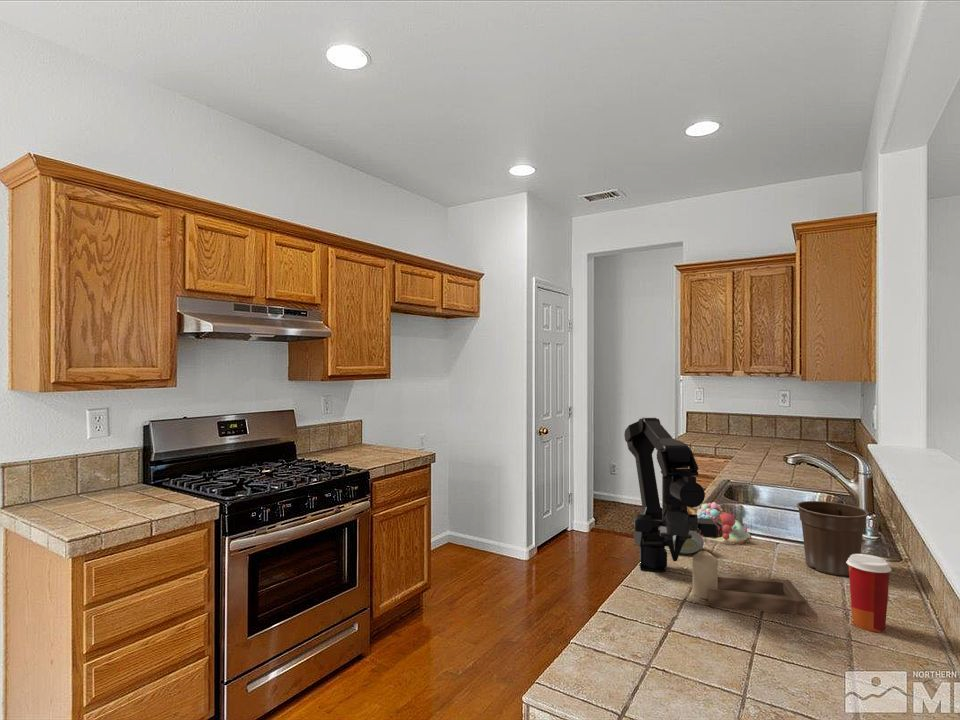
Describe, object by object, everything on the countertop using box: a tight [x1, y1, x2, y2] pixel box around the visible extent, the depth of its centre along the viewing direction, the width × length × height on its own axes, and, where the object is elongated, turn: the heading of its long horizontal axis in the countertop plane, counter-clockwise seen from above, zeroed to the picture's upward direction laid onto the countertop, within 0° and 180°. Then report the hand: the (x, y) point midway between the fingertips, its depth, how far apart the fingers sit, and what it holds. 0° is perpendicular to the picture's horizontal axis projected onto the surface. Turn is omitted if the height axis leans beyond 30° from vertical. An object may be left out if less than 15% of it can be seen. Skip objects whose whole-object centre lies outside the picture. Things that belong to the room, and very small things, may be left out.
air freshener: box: [673, 531, 705, 555], centre depth 160 cm, size 11×8×10 cm
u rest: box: [707, 573, 808, 616], centre depth 127 cm, size 20×12×3 cm, turn 76°
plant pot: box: [796, 500, 869, 576], centre depth 146 cm, size 16×16×16 cm
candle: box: [692, 550, 719, 600], centre depth 130 cm, size 6×6×10 cm
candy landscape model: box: [687, 501, 751, 545], centre depth 179 cm, size 25×24×9 cm
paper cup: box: [846, 553, 892, 633], centre depth 115 cm, size 8×8×14 cm
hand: (674, 560), depth 131 cm, fingers closed
